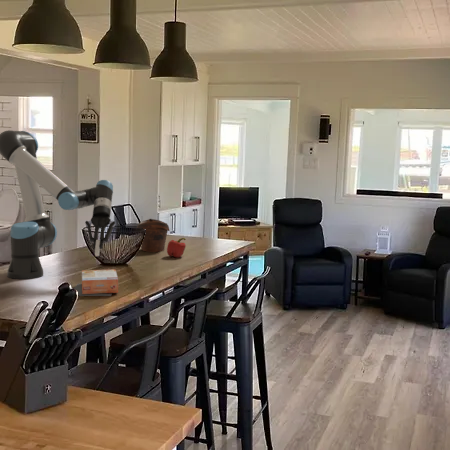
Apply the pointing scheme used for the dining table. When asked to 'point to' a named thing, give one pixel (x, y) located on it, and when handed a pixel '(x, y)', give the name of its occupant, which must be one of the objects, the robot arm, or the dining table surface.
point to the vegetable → (176, 248)
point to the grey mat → (79, 289)
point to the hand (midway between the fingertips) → (96, 254)
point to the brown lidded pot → (154, 235)
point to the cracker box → (99, 281)
